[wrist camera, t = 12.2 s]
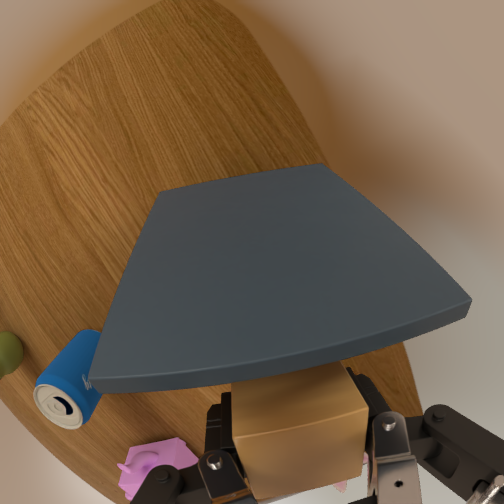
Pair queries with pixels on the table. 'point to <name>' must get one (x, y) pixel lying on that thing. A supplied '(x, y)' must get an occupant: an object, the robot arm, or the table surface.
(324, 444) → the block
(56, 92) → the table surface
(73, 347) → the beverage can
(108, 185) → the table surface
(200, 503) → the robot arm
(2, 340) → the olive green lumpy piece
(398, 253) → the lid
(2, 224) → the table surface
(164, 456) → the teapot
